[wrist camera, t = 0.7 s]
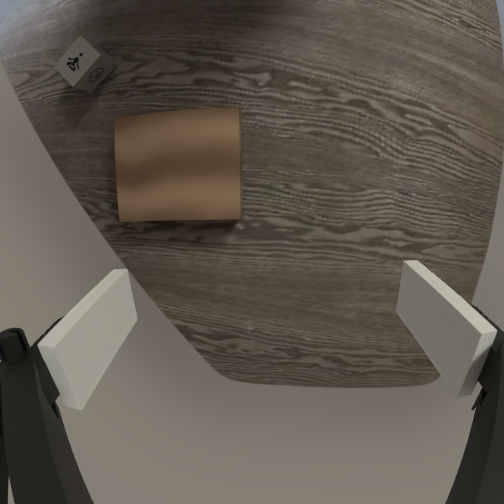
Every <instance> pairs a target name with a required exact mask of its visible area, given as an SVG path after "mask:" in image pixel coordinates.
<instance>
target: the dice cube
mask: <svg viewBox="0 0 504 504" xmlns="http://www.w3.org/2000/svg"><path fill="white" fill-rule="evenodd" d="M117 65H118V64H117V63H116V62H115V61H114V60H113V59H112V58H111V57H110V56H109V55H108V54H107V53H106V52H105V51H104V50H102V49H101V48H100V47H99V46H98V45H97V44H95V43H93V42H92V41H90V40H88V39H86V38H84V37H83V36H81V35H80V36H79V37H78V38H77V39H76V40H75V41H74V43H73V44H72V45H71V46H70V47H69V48H68V49H67V51H66V52H65V53H64V54H63V55H62V57H61V58H60V59H59V60H58V62H57V63H56V64H55V65H54V67H55V68H56V69H57V70H58V71H59V73H60V74H61V75H62V76H63V77H64V78H65V79H66V80H67V81H68V83H69V84H70V85H71V86H72V87H73V88H77V89H80V90H84V91H87V92H91V93H93V91H94V90H95V89H96V88H97V87H98V86H99V84H100V83H101V82H102V81H103V80H104V79H105V78H106V77H107V75H108V74H109V73H110V72H111V71H112V70H113V69H114V68H115V67H116V66H117Z"/></svg>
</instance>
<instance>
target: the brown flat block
mask: <svg viewBox="0 0 504 504" xmlns="http://www.w3.org/2000/svg"><path fill="white" fill-rule="evenodd" d="M114 135H115V166H116V184H117V198H118V210H119V221H120V222H133V221H167V220H220V219H241V215H242V149H241V110H240V108H239V107H223V108H203V109H189V110H177V111H167V112H157V113H149V114H141V115H133V116H126V117H120V118H114Z"/></svg>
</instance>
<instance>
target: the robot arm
mask: <svg viewBox="0 0 504 504" xmlns="http://www.w3.org/2000/svg"><path fill="white" fill-rule="evenodd" d="M396 313H397V314H398V315H399V317H400V318H401V319H402V321H403V322H404V323H405V325H406V326H407V328H408V329H409V330H410V332H411V333H412V334H413V336H414V337H415V339H416V340H417V341H418V343H419V344H420V346H421V347H422V348H423V350H424V351H425V353H426V354H427V356H428V357H429V358H430V360H431V361H432V363H433V364H434V366H435V367H436V369H437V370H438V372H439V373H440V375H441V376H442V378H443V379H444V381H445V382H446V383H447V385H448V386H449V388H450V390H451V391H452V393H453V394H454V396H455V397H456V398H459V397H463V396H466V395H470V394H472V392H473V390H474V388H475V386H476V384H477V381H478V382H479V383H480V384H481V386H482V389H481V391H480V393H479V395H478V397H477V399H476V401H475V404H474V405H473V407H472V410H474V409H475V407H476V410H475V414H474V418H473V423H472V426H471V430H470V434H469V438H468V441H467V445H466V448H465V452H464V455H463V458H462V461H461V464H460V467H459V470H458V473H457V475H456V478H455V481H454V484H453V486H452V489H451V491H450V494H449V496H448V499H447V501H446V503H445V504H504V332H503V331H502V330H501V329H500V328H499V327H498V326H497V325H495V324H494V323H493V322H492V321H491V320H489V318H488V317H487V316H485V315H483V313H482V312H481V311H480V310H479V309H478V308H477V307H475V306H473V305H471V304H469V303H468V302H466V301H465V300H464V299H462V298H461V297H460V296H459V295H458V294H457V293H456V292H454V291H453V290H452V289H451V288H450V287H449V286H447V285H446V284H445V283H444V282H443V281H442V280H440V279H439V278H438V277H437V276H436V275H434V274H433V273H432V272H431V271H429V270H428V269H427V268H426V267H425V266H423V265H422V264H421V263H420V262H418V261H417V260H413V261H404V262H403V269H402V277H401V283H400V290H399V296H398V302H397V308H396ZM136 321H137V314H136V310H135V305H134V300H133V295H132V290H131V285H130V280H129V275H128V269H114V270H112V271H111V272H110V273H109V274H108V275H107V276H106V277H105V278H104V279H103V280H102V281H101V282H100V283H98V285H96V286H95V287H94V288H93V289H92V290H91V291H90V292H89V293H88V294H87V295H86V296H85V297H84V298H83V299H82V300H81V301H80V302H79V303H78V304H77V305H76V306H75V307H74V308H73V309H72V310H71V311H70V312H69V313H68V314H67V315H65V316H63V317H62V318H60V319H58V320H57V321H56V322H55V323H54V324H53V325H52V326H51V327H50V328H49V329H48V330H47V331H46V332H45V334H43V335H42V336H41V337H40V338H39V339H38V340H37V341H36V342H35V343H34V344H33V345H32V346H31V347H30V346H29V344H28V342H27V339H26V336H25V334H24V331H23V330H22V329H20V328H10V329H7V330H4V331H2V332H1V333H0V360H1V362H0V504H8V480H9V478H10V482H11V488H12V493H13V498H14V502H15V504H94V503H93V501H92V499H91V496H90V494H89V492H88V490H87V487H86V485H85V483H84V480H83V478H82V475H81V473H80V470H79V468H78V465H77V463H76V460H75V457H74V455H73V452H72V449H71V446H70V443H69V440H68V437H67V434H66V431H65V428H64V424H63V421H62V418H61V414H60V411H59V407H58V406H57V404H56V402H55V401H56V399H57V397H58V396H59V395H60V396H61V398H62V400H63V402H64V404H65V406H67V407H71V408H75V409H80V410H82V409H83V408H84V406H85V404H86V402H87V401H88V399H89V397H90V396H91V394H92V392H93V391H94V389H95V387H96V386H97V384H98V382H99V381H100V379H101V377H102V376H103V374H104V372H105V371H106V369H107V367H108V366H109V364H110V362H111V361H112V359H113V357H114V356H115V354H116V353H117V351H118V350H119V348H120V346H121V345H122V343H123V341H124V340H125V338H126V337H127V335H128V334H129V332H130V331H131V329H132V327H133V326H134V324H135V323H136Z"/></svg>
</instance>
